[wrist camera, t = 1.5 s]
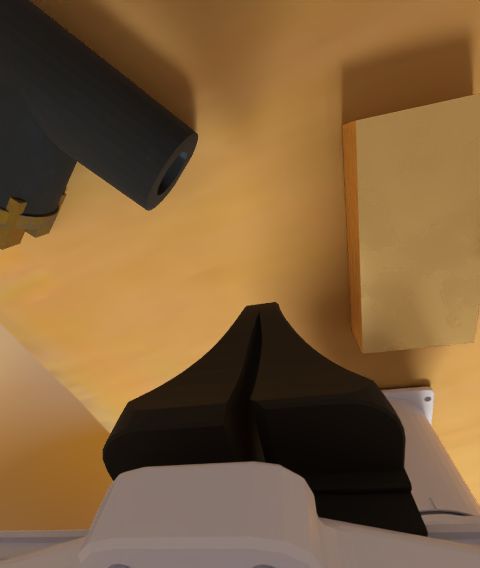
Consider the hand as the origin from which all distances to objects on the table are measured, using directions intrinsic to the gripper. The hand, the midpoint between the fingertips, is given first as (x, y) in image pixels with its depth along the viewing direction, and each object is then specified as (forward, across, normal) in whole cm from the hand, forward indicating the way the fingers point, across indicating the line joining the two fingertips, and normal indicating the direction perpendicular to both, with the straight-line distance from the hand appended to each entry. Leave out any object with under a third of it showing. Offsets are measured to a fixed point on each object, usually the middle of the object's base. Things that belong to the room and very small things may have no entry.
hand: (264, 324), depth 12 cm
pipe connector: (+9, +12, -10) cm, 18 cm away
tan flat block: (+9, -10, 0) cm, 13 cm away
